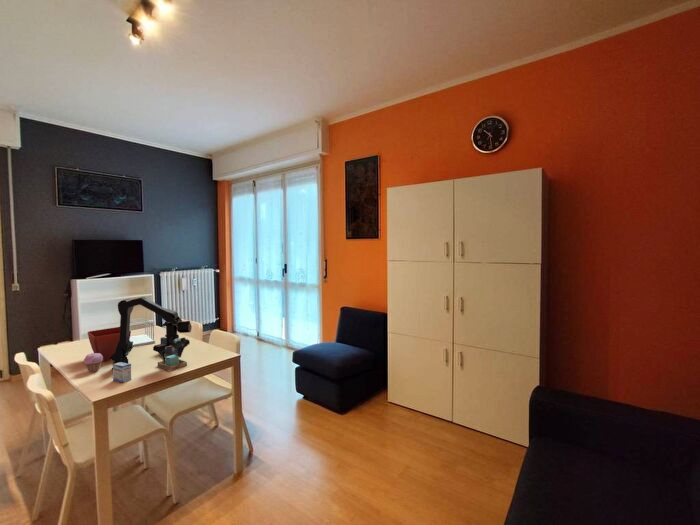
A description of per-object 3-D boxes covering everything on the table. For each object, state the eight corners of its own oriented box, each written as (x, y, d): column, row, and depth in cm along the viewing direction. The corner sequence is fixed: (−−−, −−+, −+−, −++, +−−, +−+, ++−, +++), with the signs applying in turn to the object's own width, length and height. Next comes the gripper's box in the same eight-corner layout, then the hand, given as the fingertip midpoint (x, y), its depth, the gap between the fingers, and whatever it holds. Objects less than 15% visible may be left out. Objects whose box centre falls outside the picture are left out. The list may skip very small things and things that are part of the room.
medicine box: (112, 380, 174) (112, 364, 174) (121, 377, 179) (120, 361, 178) (123, 382, 172) (122, 366, 171) (131, 379, 176) (131, 363, 175)
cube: (170, 367, 193) (170, 358, 193) (165, 365, 196) (165, 356, 195) (178, 364, 197) (178, 356, 197) (174, 362, 200) (174, 354, 200)
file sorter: (120, 340, 250) (119, 320, 249) (146, 336, 262) (146, 316, 261) (127, 348, 232) (126, 325, 231) (155, 343, 244) (154, 322, 243)
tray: (169, 370, 188) (169, 366, 188) (157, 366, 196) (157, 362, 196) (186, 365, 197) (186, 361, 197) (174, 361, 204) (174, 357, 204)
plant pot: (94, 365, 198) (93, 336, 197) (87, 357, 211) (87, 331, 210) (132, 357, 212) (131, 331, 211) (123, 351, 225) (122, 326, 224)
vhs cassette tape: (181, 356, 215) (181, 340, 214) (177, 357, 212) (176, 341, 212) (164, 351, 224) (164, 336, 224) (160, 352, 221) (160, 337, 221)
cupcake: (83, 370, 188) (82, 353, 188) (102, 367, 194) (101, 350, 194) (85, 375, 182) (84, 356, 182) (104, 371, 188) (104, 353, 188)
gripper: (162, 338, 183) (163, 366, 184) (194, 331, 199) (195, 357, 200) (152, 335, 190) (152, 362, 190) (184, 329, 205) (184, 354, 206)
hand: (172, 359), depth 196 cm, fingers open, 9 cm apart
